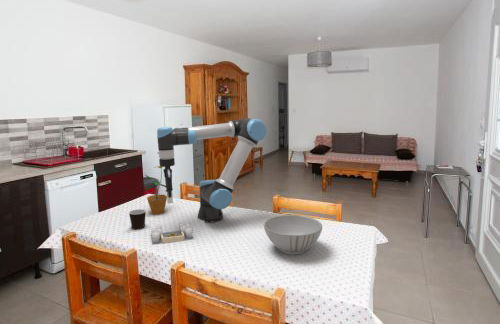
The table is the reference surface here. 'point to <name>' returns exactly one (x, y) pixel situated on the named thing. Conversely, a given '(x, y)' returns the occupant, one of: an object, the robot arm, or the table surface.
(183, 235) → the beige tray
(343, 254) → the table surface
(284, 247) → the decorative bowl
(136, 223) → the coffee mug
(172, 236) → the nut
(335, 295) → the table surface
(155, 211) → the potted plant
